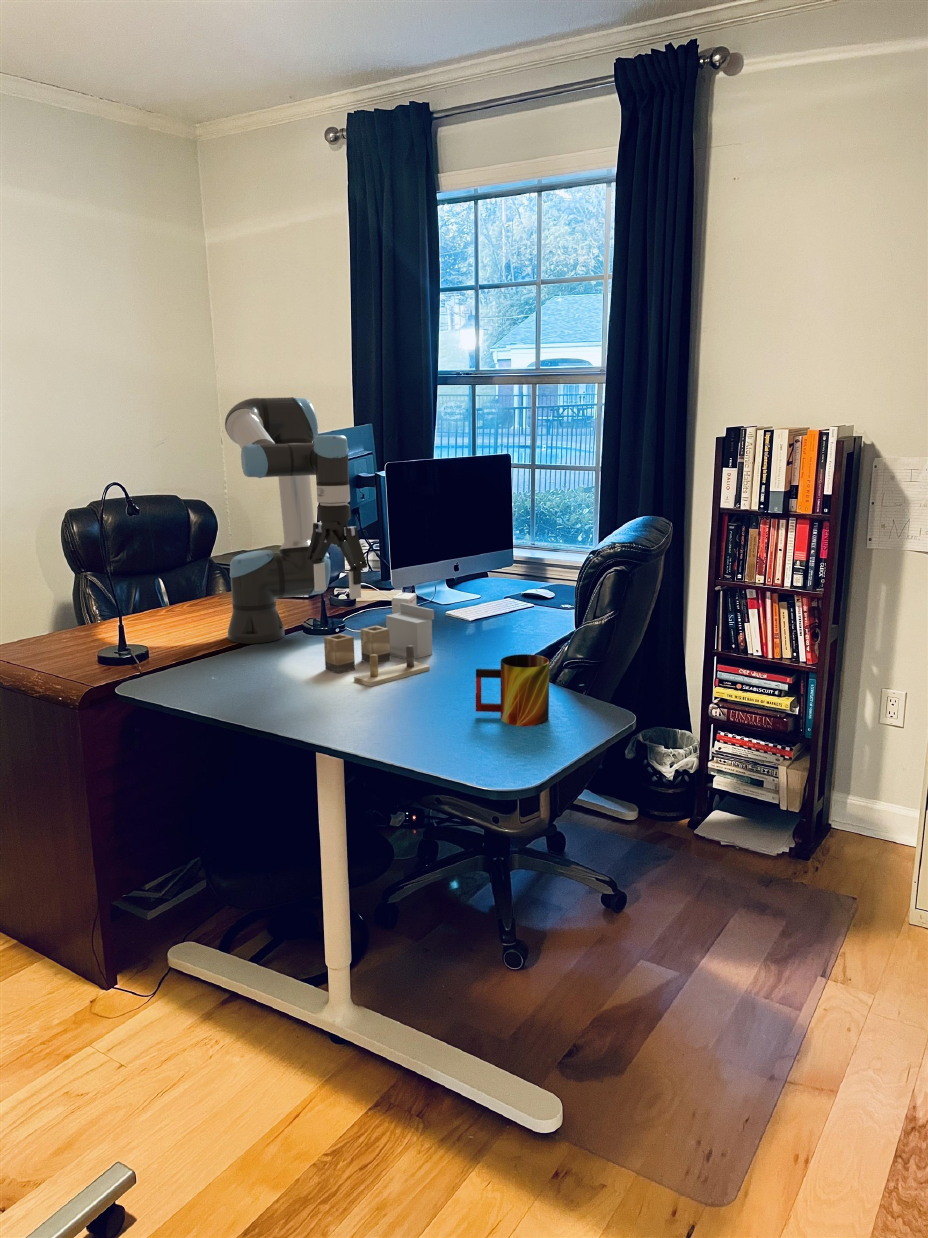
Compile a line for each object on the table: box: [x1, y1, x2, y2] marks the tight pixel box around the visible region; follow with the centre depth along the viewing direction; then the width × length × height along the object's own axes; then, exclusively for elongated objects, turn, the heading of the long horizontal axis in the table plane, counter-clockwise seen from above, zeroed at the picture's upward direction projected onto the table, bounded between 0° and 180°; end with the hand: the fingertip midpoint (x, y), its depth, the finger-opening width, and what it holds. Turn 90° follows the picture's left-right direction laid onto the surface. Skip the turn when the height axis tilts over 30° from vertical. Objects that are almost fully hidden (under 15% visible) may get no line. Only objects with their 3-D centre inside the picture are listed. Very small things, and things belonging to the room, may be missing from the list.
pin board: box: [353, 645, 431, 687], centre depth 209 cm, size 6×18×6 cm, turn 134°
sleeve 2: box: [360, 625, 391, 664], centre depth 222 cm, size 5×5×8 cm
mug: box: [475, 653, 550, 727], centre depth 178 cm, size 10×14×12 cm
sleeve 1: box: [323, 633, 356, 675], centre depth 214 cm, size 5×5×8 cm
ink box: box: [391, 592, 417, 614], centre depth 243 cm, size 9×5×12 cm, turn 168°
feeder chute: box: [385, 603, 435, 661], centre depth 228 cm, size 12×9×11 cm
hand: (337, 594), depth 211 cm, fingers open, 13 cm apart
